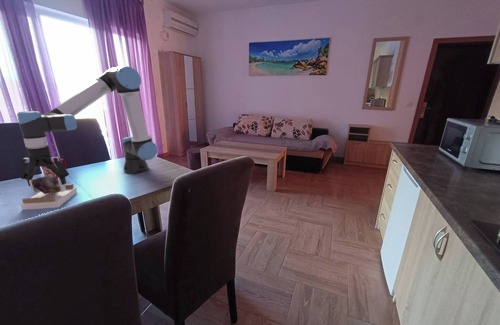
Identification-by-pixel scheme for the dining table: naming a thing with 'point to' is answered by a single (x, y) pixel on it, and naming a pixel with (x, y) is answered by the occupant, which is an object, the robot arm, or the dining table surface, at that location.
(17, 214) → the dining table surface
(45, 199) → the display stand
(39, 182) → the rock
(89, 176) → the dining table surface
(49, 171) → the mug
